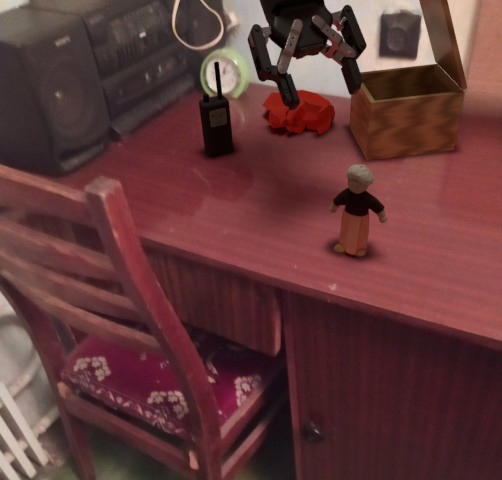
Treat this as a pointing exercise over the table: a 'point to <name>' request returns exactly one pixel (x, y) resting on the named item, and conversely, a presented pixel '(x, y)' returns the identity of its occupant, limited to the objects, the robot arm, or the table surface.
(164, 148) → the table surface
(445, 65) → the lid
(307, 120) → the crumpled red cloth
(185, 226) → the table surface
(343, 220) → the grandmother figurine
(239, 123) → the table surface
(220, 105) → the walkie-talkie
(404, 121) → the chest
